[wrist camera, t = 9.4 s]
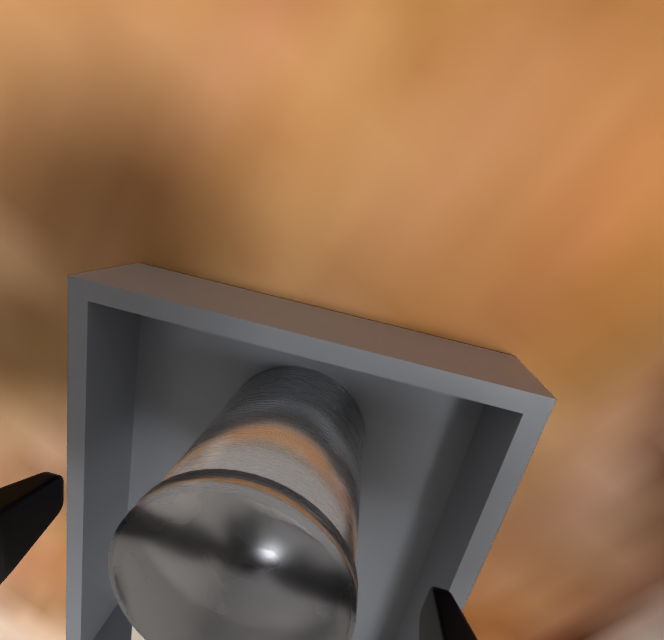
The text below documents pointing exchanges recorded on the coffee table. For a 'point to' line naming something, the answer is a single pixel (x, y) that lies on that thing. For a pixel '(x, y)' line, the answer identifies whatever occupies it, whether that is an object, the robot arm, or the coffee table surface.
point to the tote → (309, 352)
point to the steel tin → (252, 521)
